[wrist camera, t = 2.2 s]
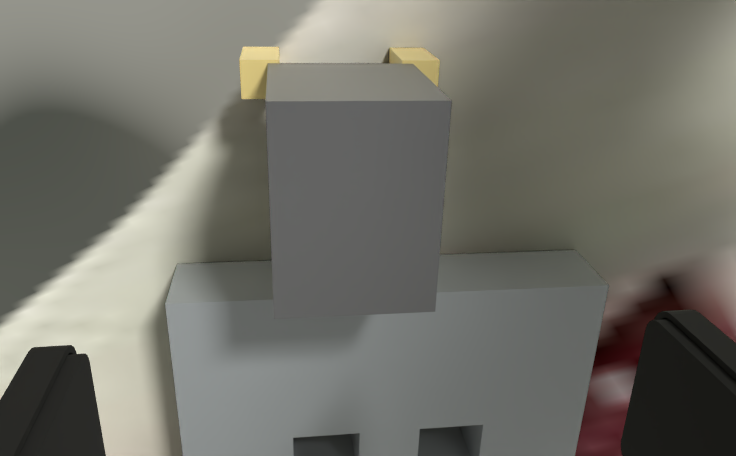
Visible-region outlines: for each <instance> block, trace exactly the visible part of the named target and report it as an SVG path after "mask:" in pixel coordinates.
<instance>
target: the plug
mask: <svg viewBox="0 0 736 456" xmlns="http://www.w3.org/2000/svg"><path fill="white" fill-rule="evenodd" d="M239 62H240V81H241V99H266V101H265V102H266V127H267V153H268V179H269V204H270V230H271V256H272V281H273V307H274V319H289V318H311V317H333V316H354V315H376V314H398V313H419V312H435V308H436V295H437V282H438V270H439V257H440V244H441V231H442V219H443V206H444V193H445V180H446V168H447V155H448V142H449V129H450V117H451V104H452V100H451V99H450V98H449V97H448V96H446V95H445V94H444V93H443V92H442V91H441V90H440V89H439V88H438V78H439V63H440V60H438V59H437V58H436V57H435V56H433V55H432V54H431V53H429V52H428V51H427V50H426V49H424V48H390V49H389V64H375V63H279V47H243V49H242V53H241V56H240V59H239Z"/></svg>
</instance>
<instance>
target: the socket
mask: <svg viewBox="0 0 736 456" xmlns="http://www.w3.org/2000/svg"><path fill="white" fill-rule="evenodd" d="M608 288H609V285H608V284H607V283H606V282H605V280H604V279H603V278H602V277H601V276H600V275H599V274H598V273H597V272H596V271H595V270H594V269H593V268H592V267H591V266H590V265H589V264H588V262H587V261H586V260H585V259H584V258H583V257H582V256H581V255H580V254H579V253H578V252H577V251H576V250H559V251H530V252H501V253H473V254H444V255H440V257H439V270H438V282H437V295H436V308H435V312H419V313H398V314H376V315H354V316H333V317H311V318H289V319H274V307H273V281H272V261H243V262H214V263H186V264H177V266H176V269H175V273H174V276H173V279H172V283H171V286H170V289H169V293H168V296H167V299H166V303H165V307H166V316H167V325H168V333H169V342H170V350H171V359H172V367H173V376H174V384H175V393H176V401H177V410H178V419H179V427H180V436H181V444H182V453H183V456H575V453H576V448H577V443H578V438H579V433H580V428H581V423H582V418H583V413H584V408H585V403H586V398H587V393H588V388H589V383H590V378H591V373H592V368H593V363H594V358H595V353H596V348H597V343H598V338H599V333H600V328H601V323H602V318H603V313H604V308H605V303H606V298H607V293H608Z"/></svg>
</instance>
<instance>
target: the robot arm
mask: <svg viewBox="0 0 736 456" xmlns="http://www.w3.org/2000/svg"><path fill="white" fill-rule="evenodd" d="M621 451H622V455H623V456H736V343H735V342H734V341H732V340H731V339H730V338H729V337H728V336H726V335H725V334H724V333H723V332H722V331H721V330H719V329H718V328H717V327H716V326H715V325H713V324H712V323H711V322H710V321H709V320H707V319H706V318H705V317H704V316H703V315H701V314H700V313H699V312H697V311H695V310H676V311H662V312H660V313H658V314H657V315H656V317H655V319H654V320H652V321H650V322H649V323H648V324H647V327H646V330H645V335H644V339H643V344H642V348H641V353H640V357H639V362H638V366H637V371H636V376H635V380H634V385H633V389H632V394H631V398H630V403H629V407H628V412H627V416H626V421H625V426H624V430H623V435H622V439H621ZM0 456H106V455H105V449H104V443H103V438H102V432H101V426H100V420H99V414H98V408H97V403H96V397H95V391H94V385H93V379H92V373H91V367H90V362H89V358H88V356H87V355H86V354H76V350H75V349H74V347H73V346H72V345H67V346H49V347H34V348H31V350H30V351H29V352H28V354H27V355H26V357H25V359H24V360H23V362H22V364H21V366H20V367H19V369H18V371H17V372H16V374H15V376H14V378H13V379H12V381H11V383H10V384H9V386H8V388H7V389H6V391H5V393H4V395H3V396H2V398H1V400H0Z"/></svg>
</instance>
